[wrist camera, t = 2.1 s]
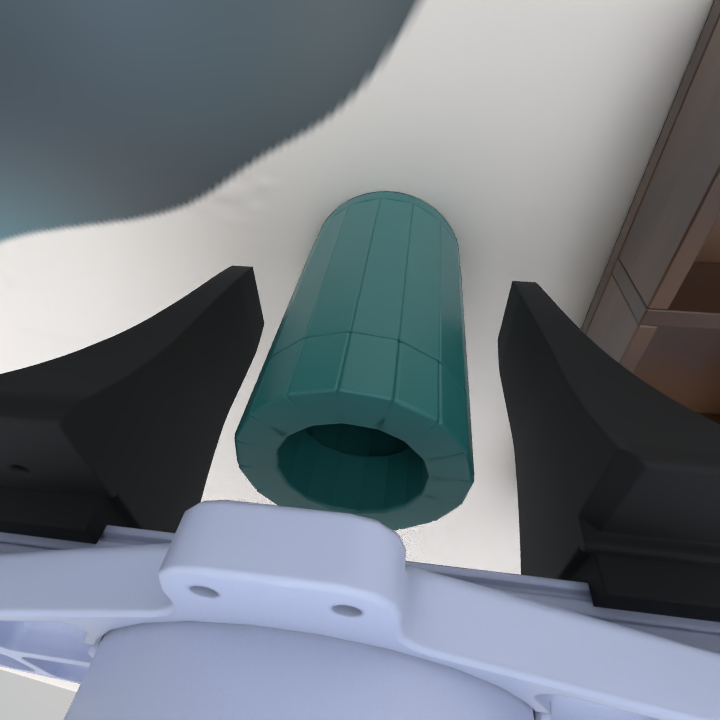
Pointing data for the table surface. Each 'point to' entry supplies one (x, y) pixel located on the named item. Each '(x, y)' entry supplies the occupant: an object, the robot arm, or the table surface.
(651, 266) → the rack
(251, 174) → the table surface
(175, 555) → the robot arm
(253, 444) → the jar
